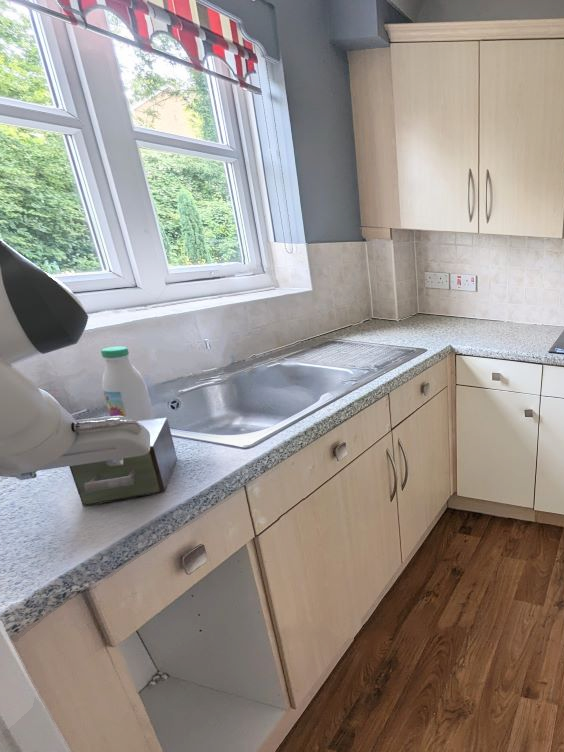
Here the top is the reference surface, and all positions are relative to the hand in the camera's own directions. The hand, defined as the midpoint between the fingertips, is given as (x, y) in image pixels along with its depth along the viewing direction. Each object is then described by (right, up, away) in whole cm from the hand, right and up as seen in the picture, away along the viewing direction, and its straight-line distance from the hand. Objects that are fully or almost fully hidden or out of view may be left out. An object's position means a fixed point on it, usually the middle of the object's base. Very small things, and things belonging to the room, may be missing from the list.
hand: (74, 467), depth 66 cm
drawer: (-9, -6, +19) cm, 22 cm away
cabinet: (-11, -6, +23) cm, 26 cm away
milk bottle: (-29, +3, +44) cm, 53 cm away
